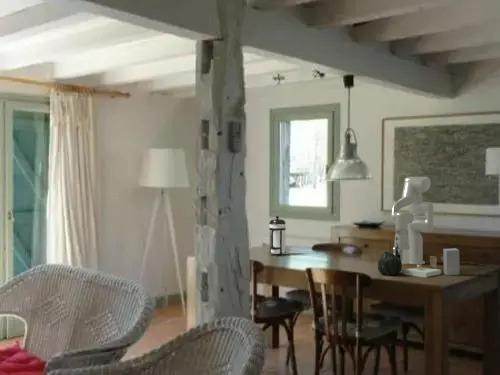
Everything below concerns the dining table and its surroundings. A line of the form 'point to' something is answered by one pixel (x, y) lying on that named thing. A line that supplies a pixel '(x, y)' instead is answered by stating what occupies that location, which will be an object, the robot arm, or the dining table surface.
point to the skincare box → (451, 261)
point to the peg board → (422, 272)
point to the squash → (389, 264)
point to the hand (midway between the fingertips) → (401, 259)
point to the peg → (433, 262)
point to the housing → (404, 256)
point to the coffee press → (277, 236)
